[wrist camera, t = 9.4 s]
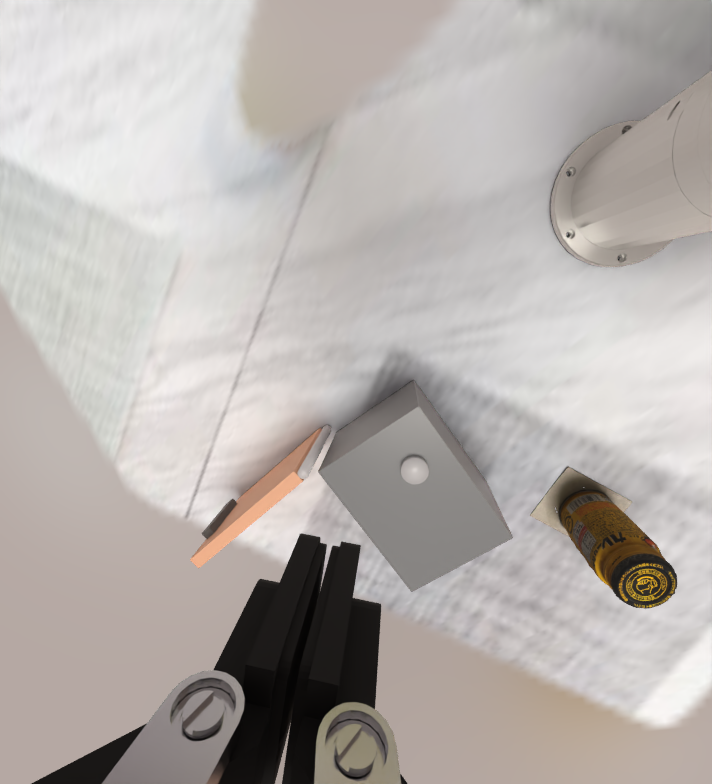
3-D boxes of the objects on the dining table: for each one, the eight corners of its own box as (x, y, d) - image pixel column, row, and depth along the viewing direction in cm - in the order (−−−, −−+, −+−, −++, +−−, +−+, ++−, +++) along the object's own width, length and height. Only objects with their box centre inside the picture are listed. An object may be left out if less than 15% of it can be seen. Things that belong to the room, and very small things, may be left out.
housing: (414, 379, 45) (419, 408, 33) (487, 482, 46) (515, 543, 35) (336, 432, 47) (316, 475, 36) (409, 527, 49) (411, 598, 38)
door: (333, 429, 46) (310, 474, 35) (245, 505, 50) (198, 568, 38) (321, 417, 46) (295, 458, 35) (234, 494, 50) (183, 554, 38)
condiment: (591, 548, 47) (654, 630, 36) (529, 514, 47) (572, 586, 35) (631, 500, 45) (711, 571, 34) (566, 465, 45) (624, 524, 34)
